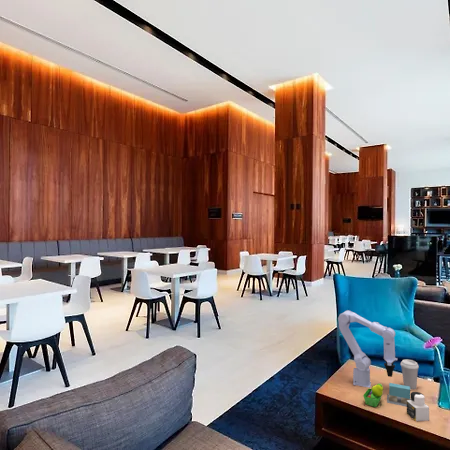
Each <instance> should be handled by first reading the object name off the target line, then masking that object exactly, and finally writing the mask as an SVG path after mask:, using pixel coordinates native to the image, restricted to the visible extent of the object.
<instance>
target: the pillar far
mask: <svg viewBox="0 0 450 450" xmlns="http://www.w3.org/2000/svg"><path fill="white" fill-rule="evenodd" d="M410 399H411V398H410ZM410 399H407V398H402V397H401V403H404V404H407V400H410Z"/></svg>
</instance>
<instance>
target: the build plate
mask: <svg viewBox="0 0 450 450" xmlns="http://www.w3.org/2000/svg"><path fill="white" fill-rule="evenodd" d="M410 400H411V398H410ZM386 403H387V404H391V405H395V406H402V407H405V408H407V404H404V403H401V397H397V402H394V401H389V393H388V394H387V395H386Z"/></svg>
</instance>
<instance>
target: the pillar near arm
mask: <svg viewBox="0 0 450 450" xmlns="http://www.w3.org/2000/svg"><path fill="white" fill-rule="evenodd" d="M388 395H389V394H388ZM389 401H394V402H397V396H392V395H389Z"/></svg>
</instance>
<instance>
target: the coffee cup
mask: <svg viewBox="0 0 450 450" xmlns="http://www.w3.org/2000/svg"><path fill="white" fill-rule="evenodd" d="M400 366H401V373H402V381H403V385H404V386H410V390H417V386H418V372H419V368H420V367H419V366H420V365H419V364H418V362H416V361H415V360H413V359H402V361H401V362H400Z"/></svg>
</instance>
